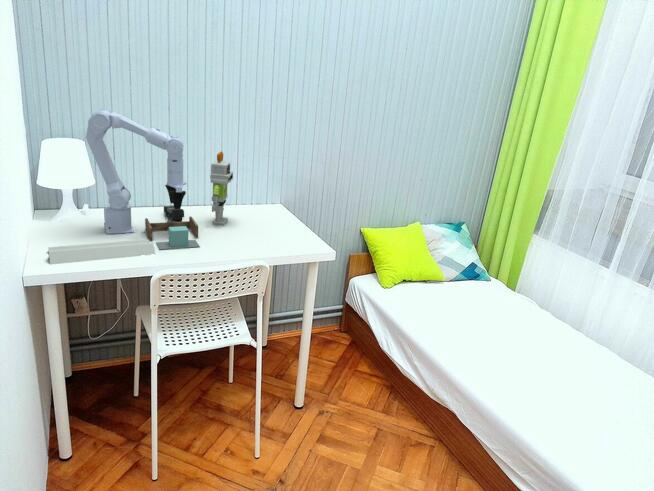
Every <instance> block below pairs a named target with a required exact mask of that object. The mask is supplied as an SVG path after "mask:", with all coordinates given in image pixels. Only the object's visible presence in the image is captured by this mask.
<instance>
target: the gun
mask: <svg viewBox="0 0 654 491" xmlns="http://www.w3.org/2000/svg"><path fill="white" fill-rule="evenodd" d="M163 213H164V214H166V216H167V217H170V219H171V221H172V222H183V218H185V210H184V208H180V209H174V205H167V206H166V205H164V206H163Z"/></svg>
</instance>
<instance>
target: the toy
mask: <svg viewBox="0 0 654 491" xmlns="http://www.w3.org/2000/svg"><path fill="white" fill-rule="evenodd" d="M209 177H210V183H211V184H212V196H211V201H212V205H211V212H212V213H215V215H214V216H215V218H214V219H213V221H212V225H214V226H215V225H216V226H223V227H224V226H226V224H227V223H228V221H229V219H228V218H227V217H224V211H225V210H224V209H225V208H224V206H225V204H226V202H227V199H228V185H229V183H231V182H232V181H233V180H234V171H232V170H231V161H226V160H224V152H223V150H221V151H219V152H218V153H217V155H216V160H215V161H214V162H212V163H211V165H210V175H209Z"/></svg>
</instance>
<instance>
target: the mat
mask: <svg viewBox="0 0 654 491" xmlns="http://www.w3.org/2000/svg"><path fill="white" fill-rule="evenodd" d="M155 244H156V246H157V248H158V250H159V251H165V250H166V251H167V250H180V249H195V248H201V245H199V243H198V241H197V240H196V239H188V246H179V247H171V246H170V244H169V240H168V241H158V242H157V241H156V242H155Z"/></svg>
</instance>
